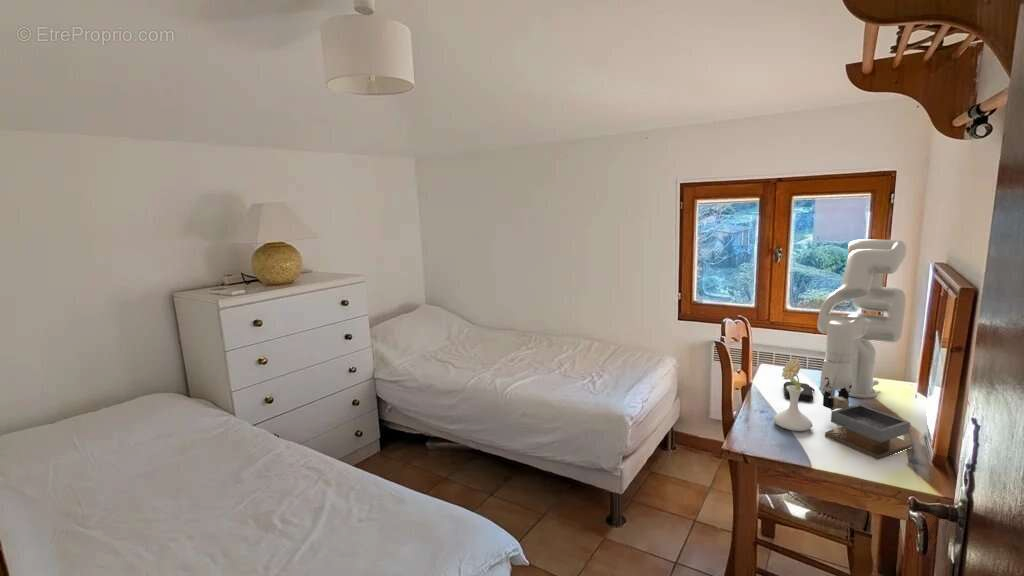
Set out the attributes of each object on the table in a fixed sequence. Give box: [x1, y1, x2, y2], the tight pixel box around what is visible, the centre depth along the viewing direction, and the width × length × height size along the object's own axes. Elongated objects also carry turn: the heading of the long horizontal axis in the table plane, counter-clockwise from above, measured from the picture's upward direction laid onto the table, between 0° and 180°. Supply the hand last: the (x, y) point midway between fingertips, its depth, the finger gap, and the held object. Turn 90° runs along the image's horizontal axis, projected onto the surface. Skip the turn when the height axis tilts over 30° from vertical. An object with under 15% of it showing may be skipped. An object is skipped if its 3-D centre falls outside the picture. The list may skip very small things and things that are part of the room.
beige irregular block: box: [827, 386, 850, 412], centre depth 165 cm, size 9×6×10 cm
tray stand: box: [824, 404, 914, 461], centre depth 149 cm, size 16×16×8 cm
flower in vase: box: [773, 358, 814, 432], centre depth 158 cm, size 13×11×25 cm
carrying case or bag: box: [783, 381, 816, 402], centre depth 187 cm, size 11×3×15 cm
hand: (835, 404), depth 165 cm, fingers closed on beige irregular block, 6 cm apart
